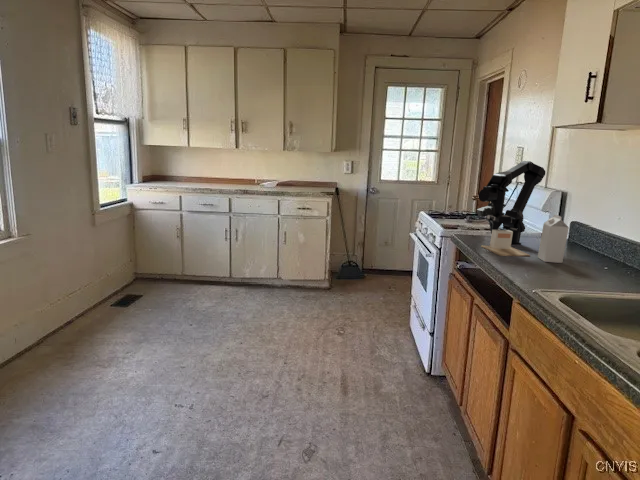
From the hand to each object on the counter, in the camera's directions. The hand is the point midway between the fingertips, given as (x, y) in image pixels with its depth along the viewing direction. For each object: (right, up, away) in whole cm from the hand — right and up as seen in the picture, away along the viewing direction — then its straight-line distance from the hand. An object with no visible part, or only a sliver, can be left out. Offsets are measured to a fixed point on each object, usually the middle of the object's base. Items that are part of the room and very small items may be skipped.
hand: (492, 234), depth 203 cm
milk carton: (+15, -11, -22) cm, 29 cm away
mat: (+1, -8, -10) cm, 13 cm away
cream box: (+1, -6, -7) cm, 9 cm away
